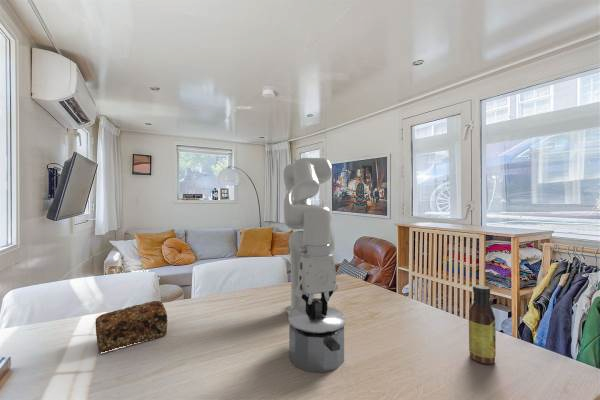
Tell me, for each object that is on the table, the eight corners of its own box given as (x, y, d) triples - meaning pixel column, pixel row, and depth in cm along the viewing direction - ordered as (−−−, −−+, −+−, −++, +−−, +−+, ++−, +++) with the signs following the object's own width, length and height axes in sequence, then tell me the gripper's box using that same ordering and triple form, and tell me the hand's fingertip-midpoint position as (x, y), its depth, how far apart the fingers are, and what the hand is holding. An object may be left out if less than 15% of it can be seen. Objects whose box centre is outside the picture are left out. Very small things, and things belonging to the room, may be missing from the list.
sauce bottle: (500, 366, 76) (500, 291, 75) (473, 364, 77) (474, 290, 77) (489, 353, 82) (489, 284, 82) (465, 351, 83) (465, 282, 83)
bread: (160, 325, 100) (160, 296, 100) (168, 337, 92) (168, 306, 92) (95, 342, 89) (94, 309, 89) (97, 357, 80) (96, 321, 80)
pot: (279, 344, 87) (279, 315, 87) (322, 334, 93) (322, 307, 93) (308, 385, 68) (308, 347, 68) (360, 369, 74) (360, 334, 74)
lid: (278, 314, 84) (278, 296, 84) (324, 304, 91) (324, 287, 91) (306, 338, 70) (306, 317, 70) (357, 324, 78) (357, 304, 77)
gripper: (295, 255, 73) (295, 326, 74) (349, 250, 80) (348, 315, 81) (284, 250, 80) (284, 315, 81) (335, 245, 87) (334, 306, 87)
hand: (316, 314), depth 81 cm, fingers closed on lid, 3 cm apart
